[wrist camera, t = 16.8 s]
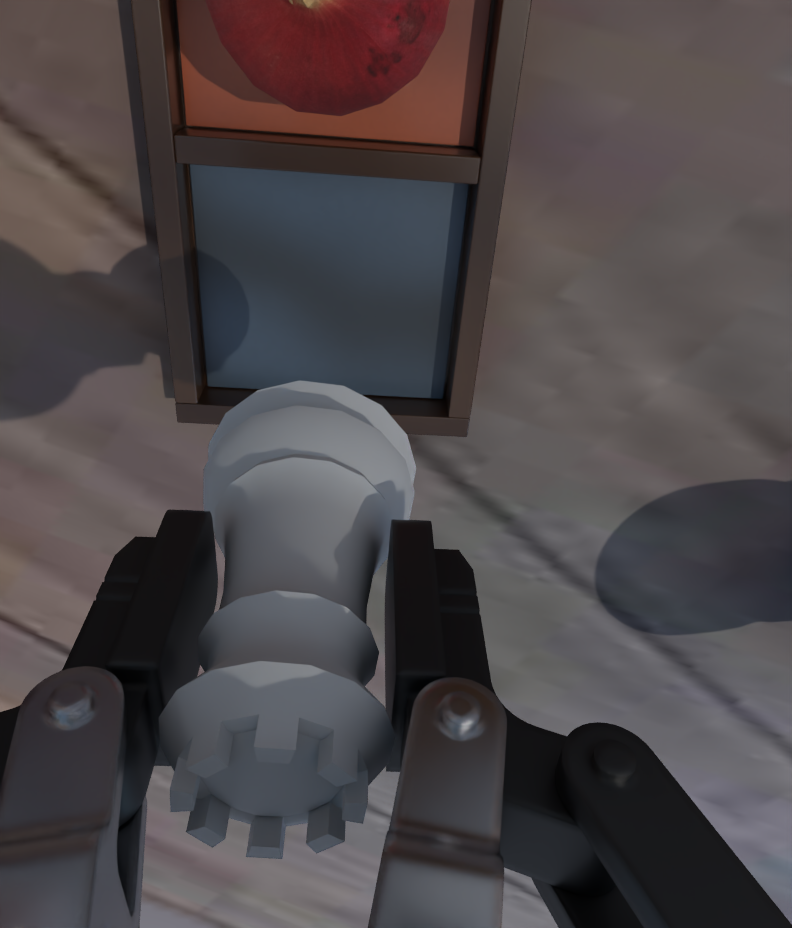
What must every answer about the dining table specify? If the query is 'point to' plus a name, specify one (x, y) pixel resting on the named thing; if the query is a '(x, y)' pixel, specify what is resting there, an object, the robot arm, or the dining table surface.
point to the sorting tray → (328, 219)
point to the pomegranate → (329, 48)
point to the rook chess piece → (291, 619)
